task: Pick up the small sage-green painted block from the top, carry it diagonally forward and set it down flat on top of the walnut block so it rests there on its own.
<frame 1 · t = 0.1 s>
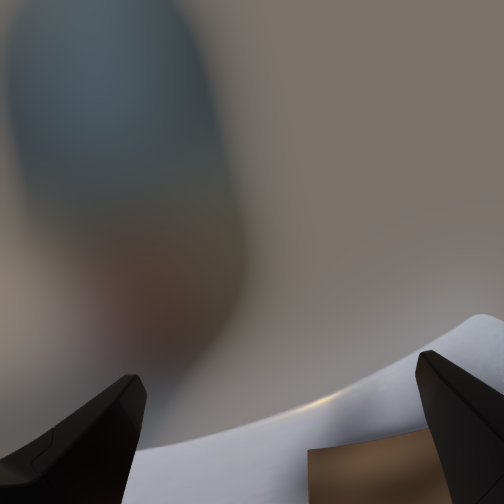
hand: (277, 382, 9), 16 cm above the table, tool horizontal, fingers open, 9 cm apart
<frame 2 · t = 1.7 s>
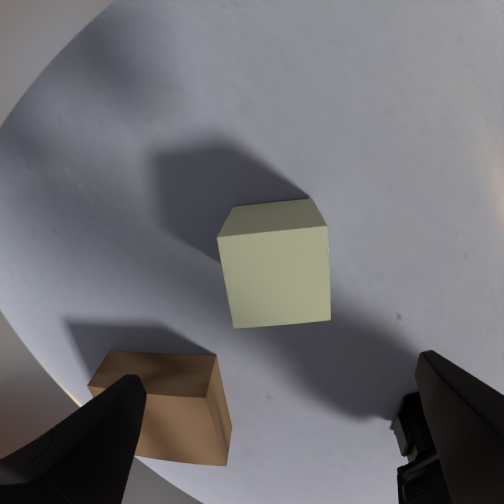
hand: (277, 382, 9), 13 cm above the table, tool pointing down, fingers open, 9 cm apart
sage block: (276, 239, 21), on the table
walnut block: (173, 392, 27), on the table
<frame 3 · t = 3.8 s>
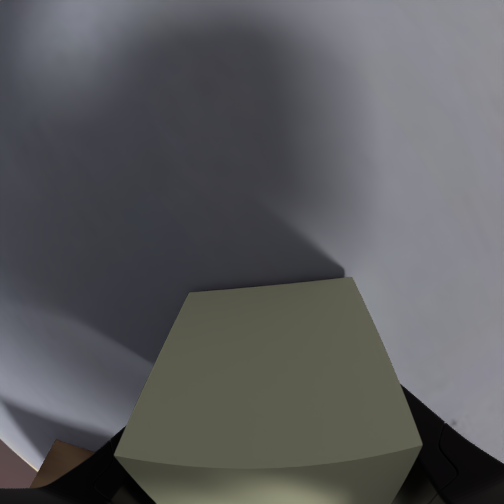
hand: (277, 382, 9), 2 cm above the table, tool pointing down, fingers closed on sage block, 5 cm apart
sage block: (277, 350, 10), on the table, touching gripper
walnut block: (140, 490, 17), on the table
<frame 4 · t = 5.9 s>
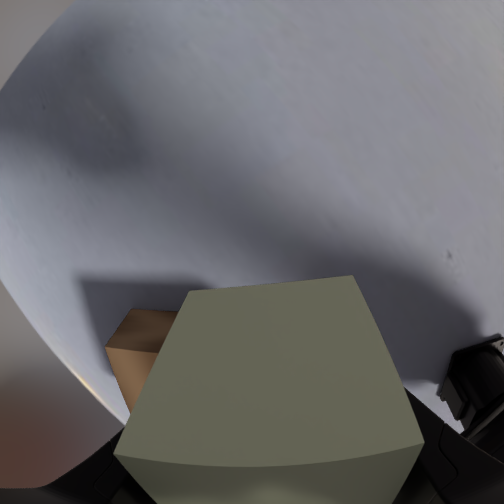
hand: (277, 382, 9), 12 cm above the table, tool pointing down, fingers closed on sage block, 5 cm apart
sage block: (277, 349, 10), point 10 cm above the table, touching gripper
walnut block: (200, 362, 24), on the table
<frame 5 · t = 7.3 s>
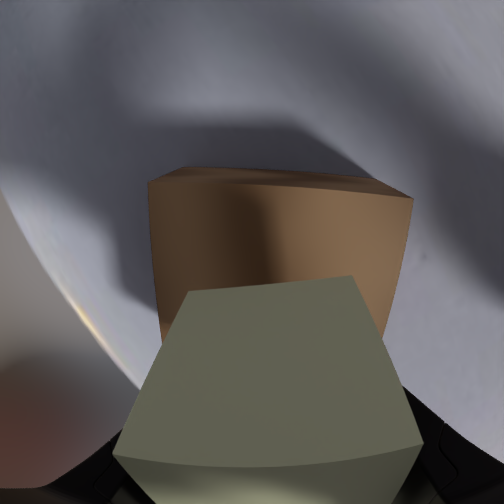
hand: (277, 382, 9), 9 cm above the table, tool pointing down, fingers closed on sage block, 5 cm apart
sage block: (277, 349, 10), point 7 cm above the table, touching gripper
walnut block: (274, 261, 17), on the table
when the fingers open (8 cm above the table, at t = 8.3 s): sage block drops 2 cm, resting on walnut block.
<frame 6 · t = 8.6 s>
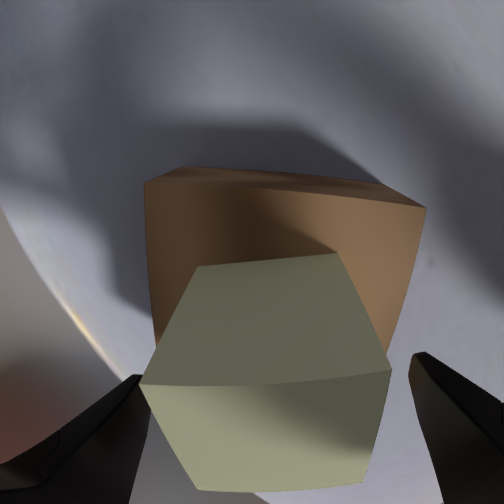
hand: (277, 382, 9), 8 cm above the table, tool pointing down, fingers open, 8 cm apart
sage block: (274, 319, 12), point 5 cm above the table, touching walnut block
walnut block: (276, 268, 17), on the table, touching sage block
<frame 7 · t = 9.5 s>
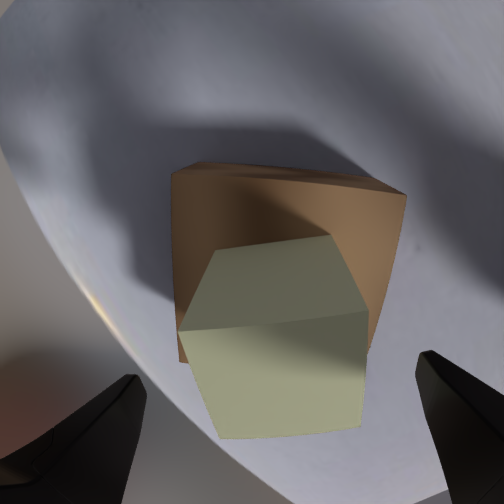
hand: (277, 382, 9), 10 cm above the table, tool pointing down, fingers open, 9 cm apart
sage block: (280, 294, 14), point 5 cm above the table
walnut block: (280, 251, 19), on the table
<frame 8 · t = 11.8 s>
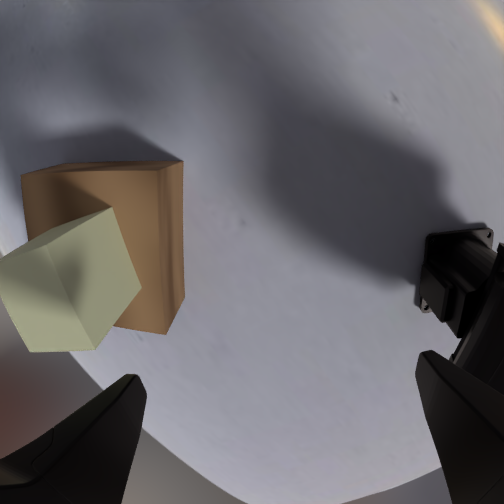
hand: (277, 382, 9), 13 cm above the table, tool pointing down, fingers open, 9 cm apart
sage block: (93, 257, 17), point 5 cm above the table, touching walnut block
walnut block: (119, 229, 22), on the table, touching sage block
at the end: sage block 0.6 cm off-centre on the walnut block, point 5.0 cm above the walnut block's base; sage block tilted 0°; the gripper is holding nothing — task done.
